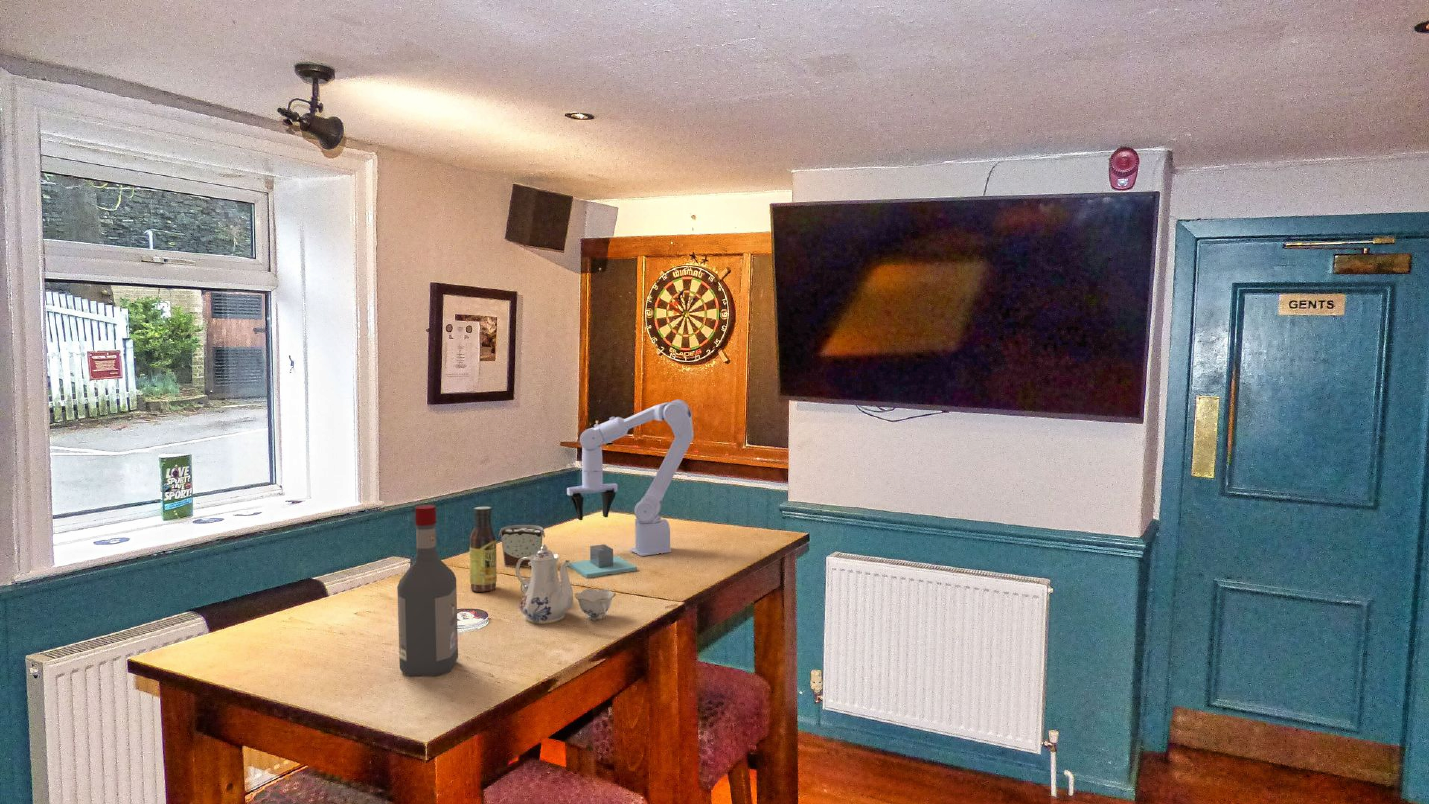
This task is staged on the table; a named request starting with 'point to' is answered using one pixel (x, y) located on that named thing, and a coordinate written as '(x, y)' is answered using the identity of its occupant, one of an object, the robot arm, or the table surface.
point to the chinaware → (556, 591)
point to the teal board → (592, 571)
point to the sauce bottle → (483, 552)
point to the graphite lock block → (601, 556)
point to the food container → (520, 543)
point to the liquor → (427, 606)
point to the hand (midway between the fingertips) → (592, 518)
